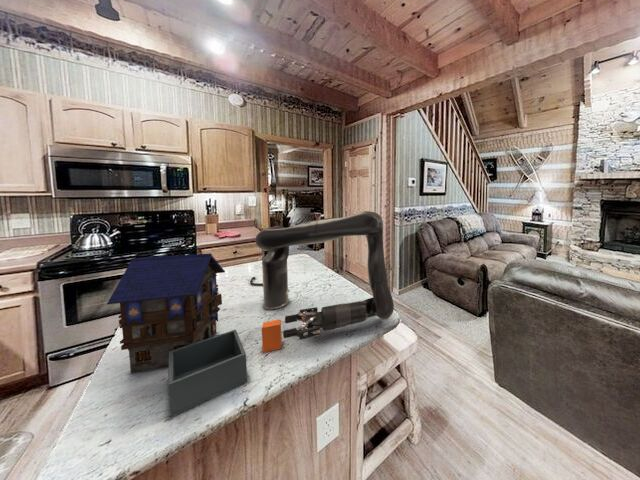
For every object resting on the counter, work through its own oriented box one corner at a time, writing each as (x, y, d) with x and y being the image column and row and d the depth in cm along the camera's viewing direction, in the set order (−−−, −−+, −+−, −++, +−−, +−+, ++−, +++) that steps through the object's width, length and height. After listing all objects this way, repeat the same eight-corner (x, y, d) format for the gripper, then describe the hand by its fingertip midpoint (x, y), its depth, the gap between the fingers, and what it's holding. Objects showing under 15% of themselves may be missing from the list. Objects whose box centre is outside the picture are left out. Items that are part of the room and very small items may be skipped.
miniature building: (207, 366, 71) (200, 263, 69) (110, 382, 65) (100, 270, 63) (233, 328, 89) (229, 245, 87) (160, 338, 83) (153, 249, 81)
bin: (171, 379, 66) (168, 351, 66) (237, 353, 76) (235, 329, 76) (170, 417, 56) (168, 385, 55) (247, 381, 66) (245, 353, 65)
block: (264, 346, 80) (263, 322, 79) (281, 342, 82) (281, 319, 81) (262, 352, 77) (261, 327, 76) (281, 348, 79) (280, 324, 78)
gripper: (333, 296, 93) (285, 305, 86) (339, 316, 80) (282, 327, 73) (334, 316, 93) (285, 326, 87) (339, 338, 80) (282, 352, 74)
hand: (284, 326), depth 80 cm, fingers open, 8 cm apart
